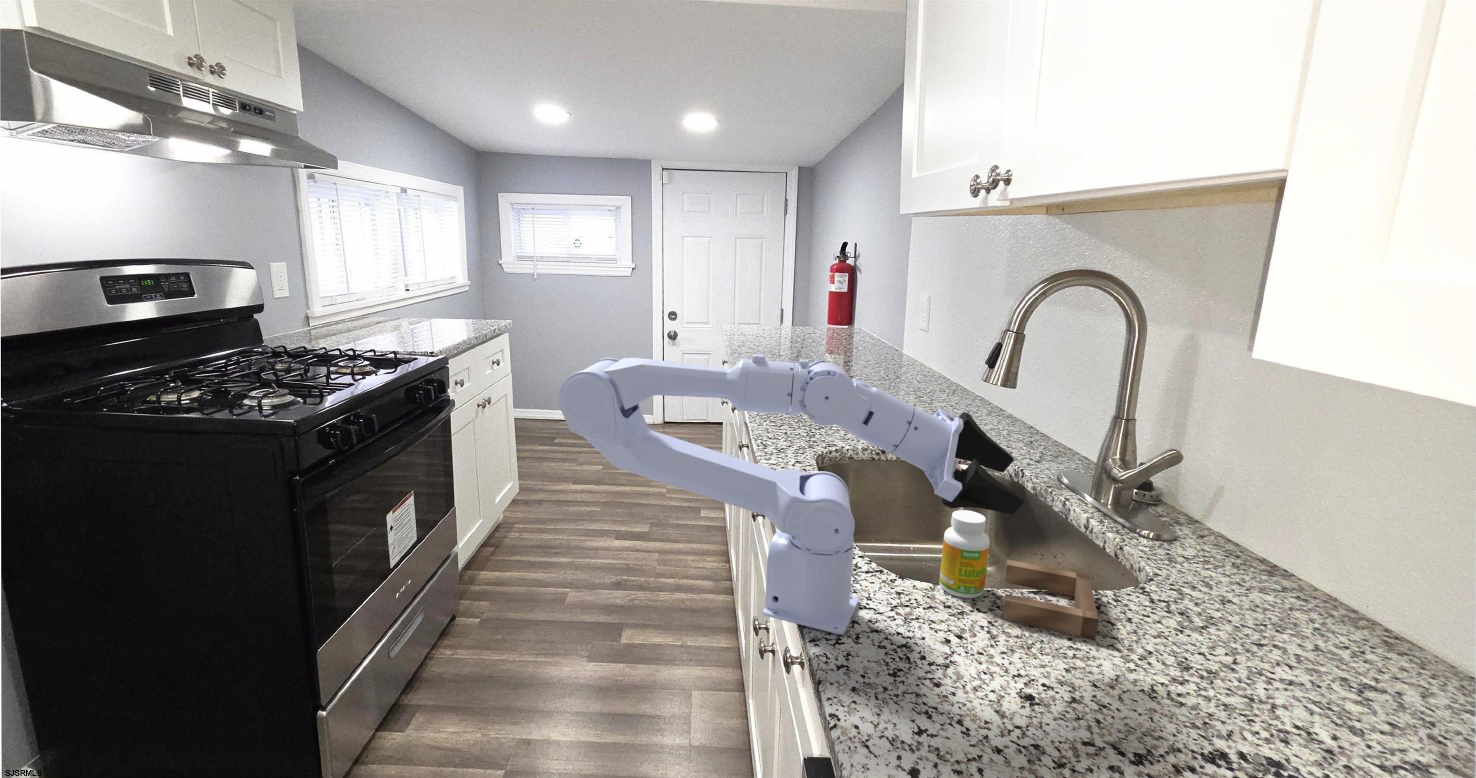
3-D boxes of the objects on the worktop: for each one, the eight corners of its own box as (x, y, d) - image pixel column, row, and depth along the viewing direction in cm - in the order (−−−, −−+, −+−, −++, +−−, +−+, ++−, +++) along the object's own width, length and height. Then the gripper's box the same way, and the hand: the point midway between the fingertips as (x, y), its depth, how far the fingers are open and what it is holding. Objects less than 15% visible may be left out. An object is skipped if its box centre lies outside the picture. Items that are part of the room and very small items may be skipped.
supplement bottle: (955, 601, 79) (963, 527, 77) (930, 580, 84) (937, 509, 82) (993, 596, 81) (1002, 522, 78) (966, 575, 86) (974, 505, 84)
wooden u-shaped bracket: (1002, 619, 75) (1005, 599, 75) (1004, 576, 85) (1006, 559, 85) (1095, 639, 72) (1098, 619, 71) (1086, 593, 82) (1088, 574, 81)
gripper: (921, 438, 62) (1048, 500, 63) (919, 370, 75) (1025, 423, 75) (884, 488, 66) (1004, 547, 66) (888, 416, 79) (989, 466, 79)
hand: (1012, 484), depth 71 cm, fingers open, 7 cm apart
